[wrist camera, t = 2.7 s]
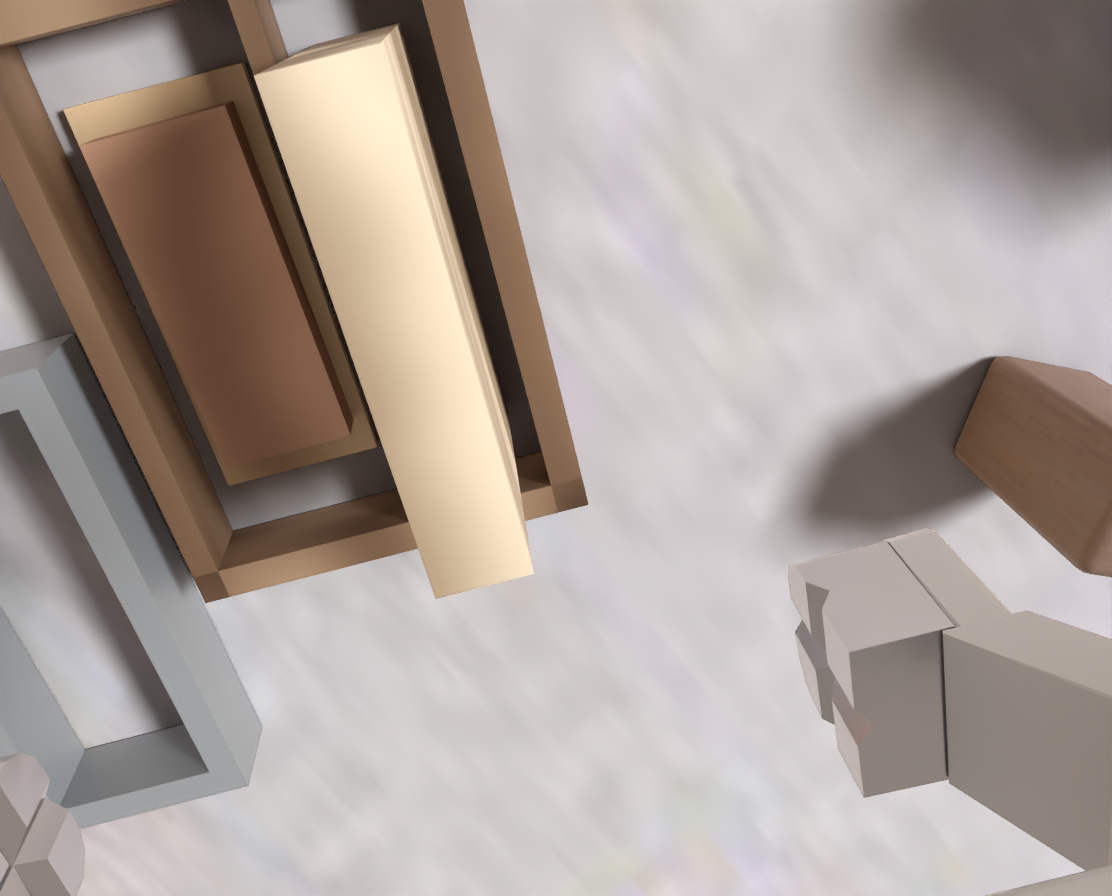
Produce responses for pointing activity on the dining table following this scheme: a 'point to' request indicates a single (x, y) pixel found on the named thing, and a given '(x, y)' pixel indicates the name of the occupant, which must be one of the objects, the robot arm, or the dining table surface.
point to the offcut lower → (238, 88)
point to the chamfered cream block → (403, 298)
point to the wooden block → (1047, 453)
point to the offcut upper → (222, 282)
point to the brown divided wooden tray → (133, 371)
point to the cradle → (148, 600)
